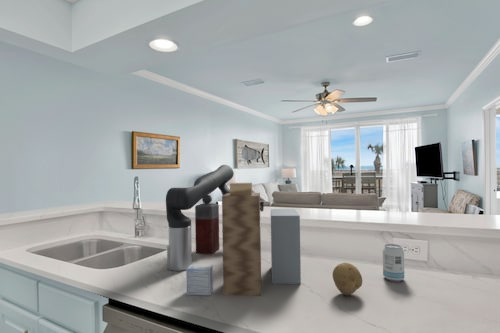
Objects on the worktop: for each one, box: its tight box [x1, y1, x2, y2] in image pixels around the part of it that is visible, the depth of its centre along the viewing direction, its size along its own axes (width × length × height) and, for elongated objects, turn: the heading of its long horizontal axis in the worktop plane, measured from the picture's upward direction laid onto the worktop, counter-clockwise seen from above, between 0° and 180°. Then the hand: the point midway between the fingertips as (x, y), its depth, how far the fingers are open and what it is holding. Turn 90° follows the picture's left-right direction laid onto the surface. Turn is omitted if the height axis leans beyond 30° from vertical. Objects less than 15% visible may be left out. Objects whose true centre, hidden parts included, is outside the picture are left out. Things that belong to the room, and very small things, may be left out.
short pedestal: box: [270, 208, 302, 285], centre depth 108 cm, size 10×16×24 cm, turn 177°
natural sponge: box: [332, 262, 363, 297], centre depth 91 cm, size 9×9×10 cm
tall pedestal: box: [221, 192, 262, 297], centre depth 98 cm, size 12×12×32 cm
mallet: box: [229, 182, 253, 196], centre depth 103 cm, size 20×7×4 cm, turn 177°
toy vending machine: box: [194, 194, 220, 255], centre depth 142 cm, size 9×11×28 cm
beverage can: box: [382, 243, 405, 283], centre depth 103 cm, size 7×7×12 cm
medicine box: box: [185, 264, 214, 296], centre depth 94 cm, size 8×4×9 cm, turn 84°
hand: (246, 199), depth 120 cm, fingers open, 8 cm apart
